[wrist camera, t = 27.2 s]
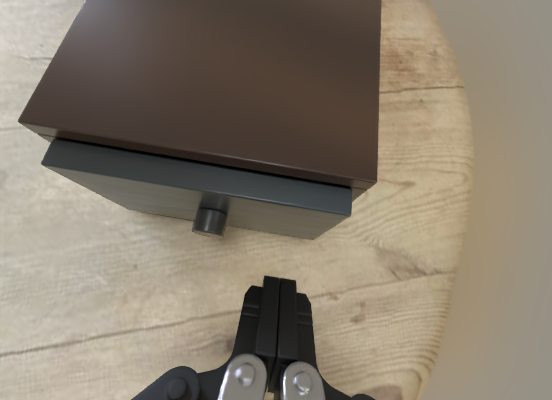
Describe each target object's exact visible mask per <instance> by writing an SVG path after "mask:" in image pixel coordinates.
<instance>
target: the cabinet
mask: <svg viewBox="0 0 552 400" xmlns="http://www.w3.org/2000/svg"><path fill="white" fill-rule="evenodd" d="M380 36H381V0H86V1H85V2H84V4H83V6H82V8H81V9H80V11H79V13H78V15H77V17H76V18H75V20H74V22H73V24H72V25H71V27H70V29H69V31H68V33H67V34H66V36H65V38H64V40H63V41H62V43H61V45H60V47H59V48H58V50H57V52H56V54H55V56H54V57H53V59H52V61H51V63H50V64H49V66H48V68H47V70H46V71H45V73H44V75H43V77H42V79H41V80H40V82H39V84H38V86H37V87H36V89H35V91H34V93H33V94H32V96H31V98H30V100H29V102H28V103H27V105H26V107H25V109H24V110H23V112H22V114H21V116H20V117H19V119H18V122H19V123H21V124H22V125H24V126H25V127H27V128H28V129H30V130H31V131H33V132H35V133H37V134H38V135H39V136H41V137H43V138H44V139H46V140H47V141H49V142H50V143H51V142H52V140H53V139H58V140H64V141H70V142H76V143H81V144H87V145H93V146H99V147H105V148H111V149H117V150H122V149H121V148H127V149H133V150H139V151H145V152H151V153H157V154H163V155H169V156H175V157H181V158H187V159H192V160H198V161H204V162H210V163H216V164H222V165H228V166H234V167H240V168H246V169H252V170H258V171H263V172H269V173H275V174H281V175H287V176H293V177H299V178H305V179H311V180H317V181H322V182H321V184H324V185H330V186H336V187H342V188H348V189H352V191H353V192H352V202H353V201H354V200H355V199H356V198H358V197H359V196H360V195H361V194H363V193H364V192H365V191H367V189H369V188H371V187H372V186H373V185H375V184H376V183H377V163H378V121H379V79H380ZM120 147H121V148H120Z"/></svg>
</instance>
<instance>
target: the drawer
mask: <svg viewBox="0 0 552 400" xmlns="http://www.w3.org/2000/svg"><path fill="white" fill-rule="evenodd" d="M120 148H121V147H120ZM121 149H122V150H117V149H111V148H105V147H99V146H93V145H87V144H81V143H76V142H70V141H64V140H58V139H53V140H52V142H51V144H50V146H49V148H48V150H47V152H46V154H45V156H44V158H43V160H42V162H41V164H42V165H43V166H45V167H47V168H49V169H51V170H53V171H55V172H56V173H58V174H60V175H62V176H64V177H66V178H68V179H70V180H72V181H74V182H76V183H78V184H80V185H82V186H84V187H86V188H88V189H90V190H92V191H93V192H95V193H97V194H99V195H101V196H103V197H105V198H107V199H109V200H111V201H113V202H115V203H117V204H119V205H121V206H123V207H125V208H127V209H129V210H134V211H140V212H146V213H152V214H159V215H165V216H171V217H177V218H183V219H189V220H194V224H193V228H192V232H194V233H196V234H199V235H203V236H208V237H216V238H221V237H223V236H224V231H225V227H226V226H232V227H238V228H244V229H251V230H257V231H263V232H269V233H275V234H281V235H287V236H293V237H300V238H306V239H312V240H314V239H315V238H317V237H319V236H320V235H322V234H323V233H325V232H326V231H328V230H330V229H331V228H333V227H334V226H336V225H337V224H339V223H340V222H342V221H344V220H345V219H347V218H348V217H350V216H351V210H352V192H353V191H352V189H348V188H342V187H336V186H330V185H324V184H321V182H322V181H317V180H311V179H305V178H299V177H293V176H287V175H281V174H275V173H269V172H263V171H258V170H252V169H246V168H240V167H234V166H228V165H222V164H216V163H210V162H204V161H198V160H192V159H187V158H181V157H175V156H169V155H163V154H157V153H151V152H145V151H139V150H133V149H127V148H121Z"/></svg>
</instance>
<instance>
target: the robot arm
mask: <svg viewBox="0 0 552 400" xmlns="http://www.w3.org/2000/svg"><path fill="white" fill-rule="evenodd" d="M312 325H313V322H312V311H311V303H310V301H309V300H308V298H307V296H306V294H303V293H296V280H290V279H284V278H277V277H271V276H264V280H263V286H262V287H258V286H252V285H251V287H250V288H249V289H248V291H247V292H246V293H245V297H244V302H243V306H242V311H241V316H240V321H239V326H238V330H237V335H236V340H235V345H234V349H233V353H232V355H231V357H230V358H229V360H228V361H227V362H226V363H225V364H224V365H222V366H221V367H219V368H217V369H215V370H211V371H207V372H202V373H198V374H197V373H196V371H195V370H193V369H192V368H190V367H186V366H180V367H175V368H173V369H171V370H169V371H167V372H166V373H165V374H163V375H162V376H161V377H160V378H158V379H157V380H156V381H154V382H153V383H152V384H151V385H149V386H148V387H147V388H146V389H144V390H143V391H142V392H140V393H139V394H138V395H137V396H135V397H134V398H133V399H131V400H264V395H265V392H266V389H267V386H268V392H271V393H274V400H375V399H373V398H372V397H370V396H368V395H365V394H357V395H354V396H353V397H352V398H351V397H349V396H347V395H346V394H344V393H342V392H340V391H338V390H336V389H335V388H333V387H331V386H330V385H329V384H328V383H327V382H326V381H325V380H324V379H323V378H322V376H321V374H320V373H319V370H318V368H317V364H316V355H315V344H314V333H313V326H312Z"/></svg>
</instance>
